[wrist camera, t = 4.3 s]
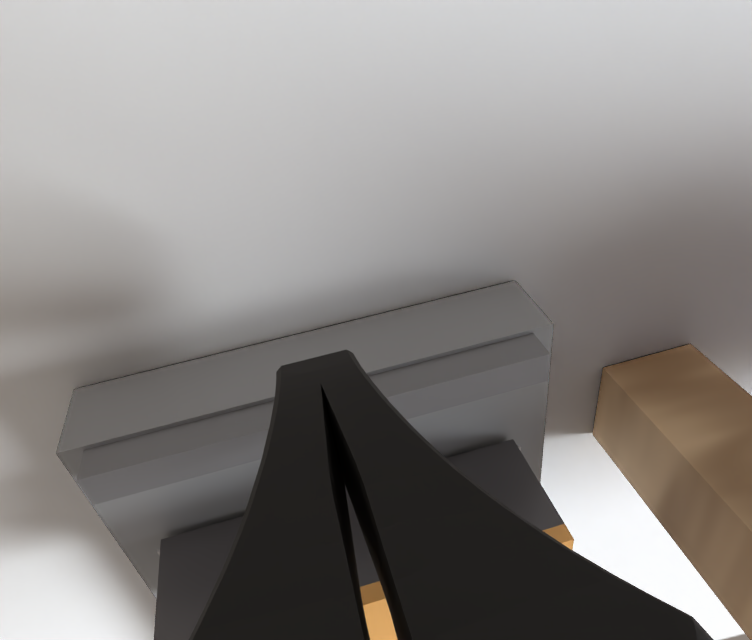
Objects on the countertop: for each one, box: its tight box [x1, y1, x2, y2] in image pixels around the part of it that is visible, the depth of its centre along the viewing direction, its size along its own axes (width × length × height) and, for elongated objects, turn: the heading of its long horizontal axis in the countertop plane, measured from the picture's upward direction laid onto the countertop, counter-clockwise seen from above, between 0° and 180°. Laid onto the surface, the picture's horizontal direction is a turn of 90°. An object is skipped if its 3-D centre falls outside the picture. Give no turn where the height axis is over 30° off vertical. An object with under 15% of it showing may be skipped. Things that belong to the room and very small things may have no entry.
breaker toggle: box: [154, 439, 574, 640], centre depth 14 cm, size 9×2×3 cm, turn 97°
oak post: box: [593, 344, 752, 640], centre depth 16 cm, size 3×3×7 cm
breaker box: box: [56, 281, 554, 599], centre depth 17 cm, size 11×15×3 cm
